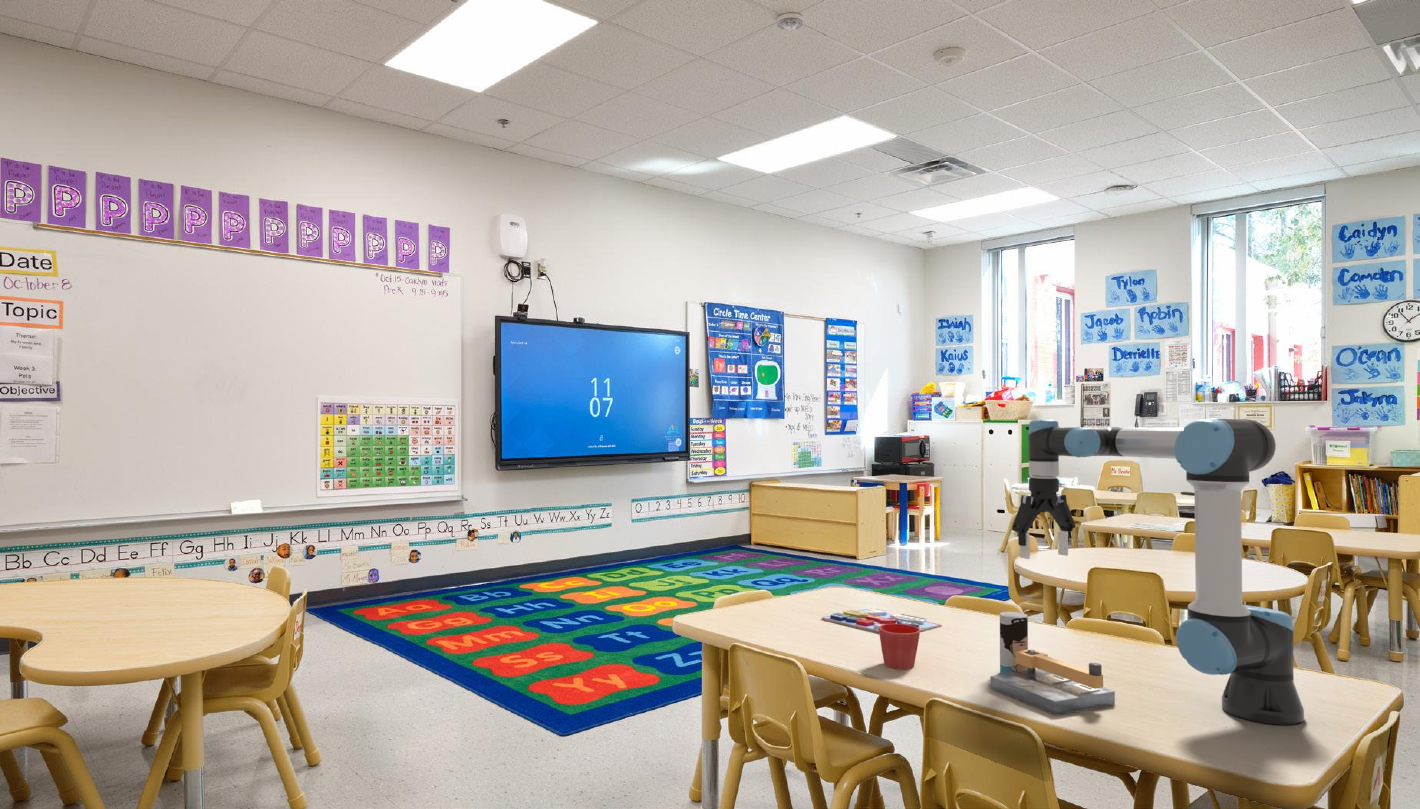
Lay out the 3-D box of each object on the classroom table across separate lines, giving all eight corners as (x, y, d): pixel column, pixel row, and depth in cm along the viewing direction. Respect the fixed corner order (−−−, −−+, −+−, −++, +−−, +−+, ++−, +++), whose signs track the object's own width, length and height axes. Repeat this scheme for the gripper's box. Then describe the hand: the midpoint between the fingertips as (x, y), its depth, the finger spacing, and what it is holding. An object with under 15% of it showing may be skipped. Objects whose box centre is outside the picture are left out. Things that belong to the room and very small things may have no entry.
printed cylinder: (1014, 679, 209) (1014, 618, 209) (994, 672, 215) (993, 613, 215) (1033, 675, 212) (1033, 615, 212) (1012, 668, 218) (1012, 610, 218)
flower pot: (927, 664, 221) (927, 627, 221) (906, 673, 213) (906, 635, 213) (892, 656, 228) (892, 621, 229) (870, 665, 220) (870, 628, 221)
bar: (1015, 662, 207) (1015, 642, 207) (1031, 660, 209) (1031, 640, 209) (1091, 689, 186) (1091, 667, 186) (1108, 687, 188) (1108, 664, 188)
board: (1114, 704, 190) (1114, 668, 190) (1055, 715, 183) (1054, 678, 183) (1046, 679, 208) (1046, 647, 209) (990, 688, 201) (990, 655, 201)
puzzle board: (942, 628, 263) (942, 619, 263) (897, 640, 249) (897, 631, 249) (866, 611, 287) (866, 603, 287) (820, 621, 272) (820, 613, 272)
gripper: (1067, 475, 234) (1067, 551, 233) (997, 477, 224) (997, 557, 223) (1089, 476, 227) (1089, 555, 226) (1018, 479, 217) (1018, 561, 216)
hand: (1044, 556), depth 225 cm, fingers open, 13 cm apart
